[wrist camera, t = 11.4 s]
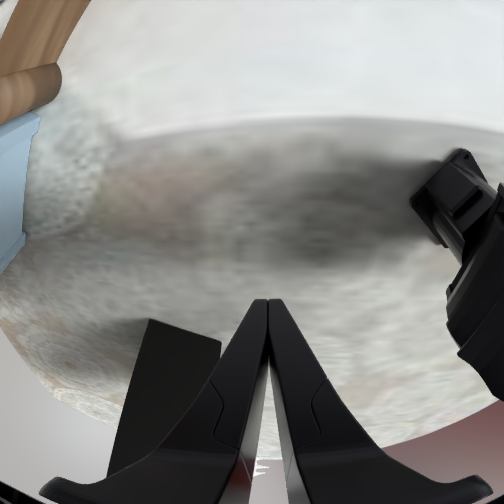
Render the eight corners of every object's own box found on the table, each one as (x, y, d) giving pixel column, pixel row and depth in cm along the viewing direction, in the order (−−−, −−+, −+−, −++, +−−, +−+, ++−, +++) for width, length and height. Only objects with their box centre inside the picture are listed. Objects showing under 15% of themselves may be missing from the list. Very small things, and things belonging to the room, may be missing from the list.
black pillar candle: (201, 374, 36) (175, 596, 14) (139, 354, 34) (91, 578, 12) (222, 340, 32) (197, 616, 9) (149, 316, 30) (86, 596, 7)
